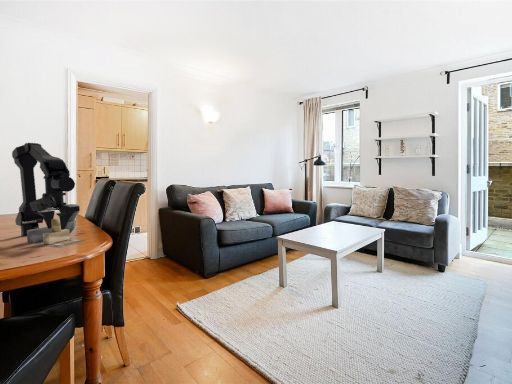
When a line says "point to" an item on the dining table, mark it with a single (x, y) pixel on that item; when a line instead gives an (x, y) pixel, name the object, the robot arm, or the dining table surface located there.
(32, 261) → the dining table surface
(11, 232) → the dining table surface
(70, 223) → the mortar and pestle
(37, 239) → the base
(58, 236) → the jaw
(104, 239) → the dining table surface
